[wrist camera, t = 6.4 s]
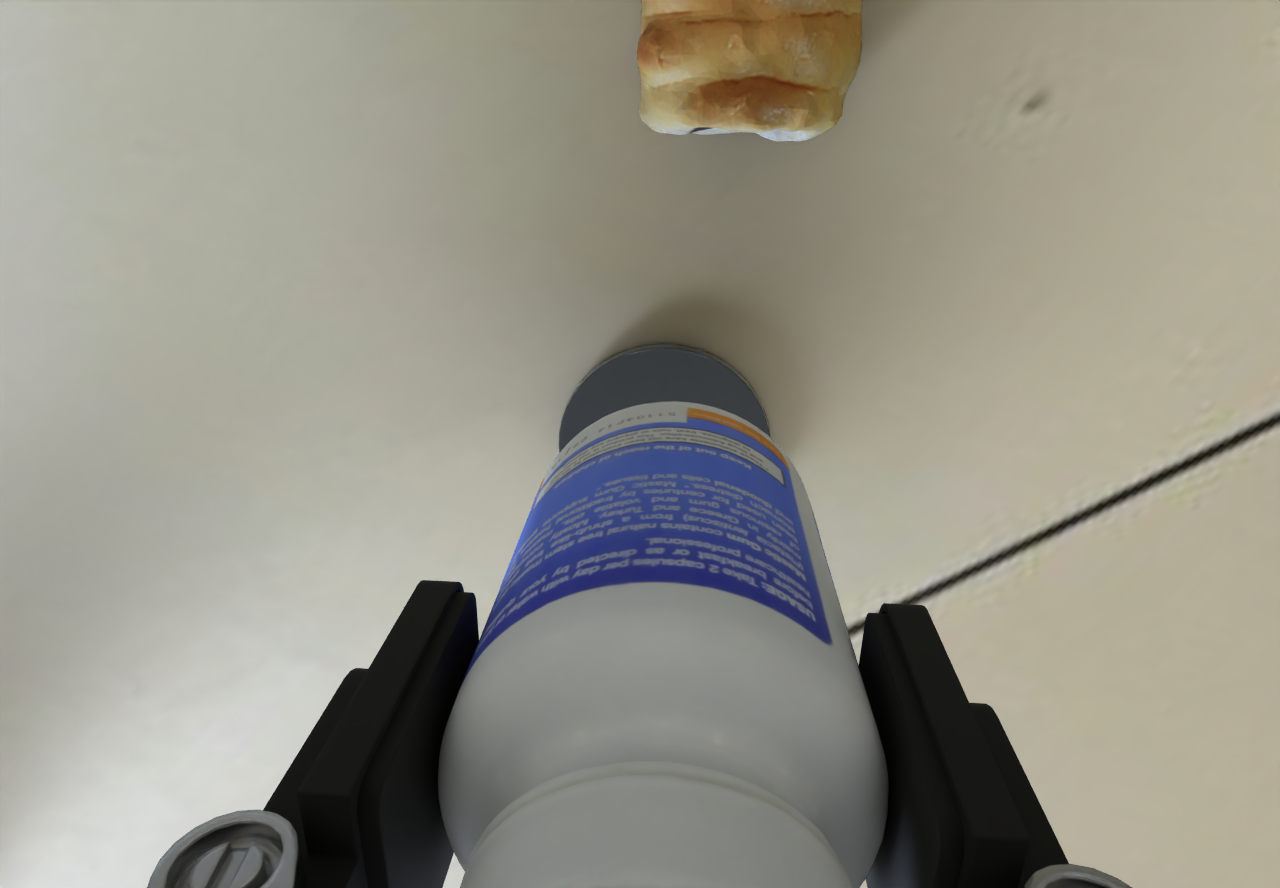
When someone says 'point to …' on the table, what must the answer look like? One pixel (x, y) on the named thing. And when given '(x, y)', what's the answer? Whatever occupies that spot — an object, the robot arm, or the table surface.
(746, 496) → the pill bottle
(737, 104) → the pastry
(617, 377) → the coaster
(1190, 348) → the table surface
